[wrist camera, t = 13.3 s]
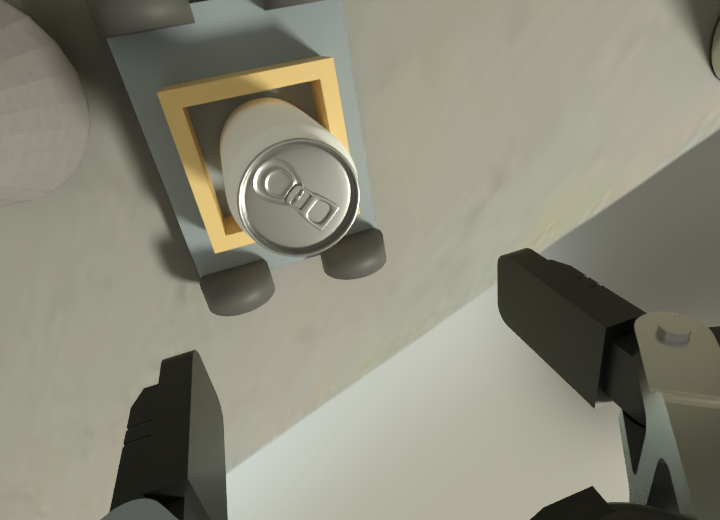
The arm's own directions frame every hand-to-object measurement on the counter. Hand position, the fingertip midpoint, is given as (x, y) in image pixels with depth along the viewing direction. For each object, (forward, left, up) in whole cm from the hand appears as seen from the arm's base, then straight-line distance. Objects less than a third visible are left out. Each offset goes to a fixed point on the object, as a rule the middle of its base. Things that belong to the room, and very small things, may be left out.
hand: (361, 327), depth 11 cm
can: (0, 0, -22) cm, 22 cm away
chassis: (0, 0, -24) cm, 24 cm away
